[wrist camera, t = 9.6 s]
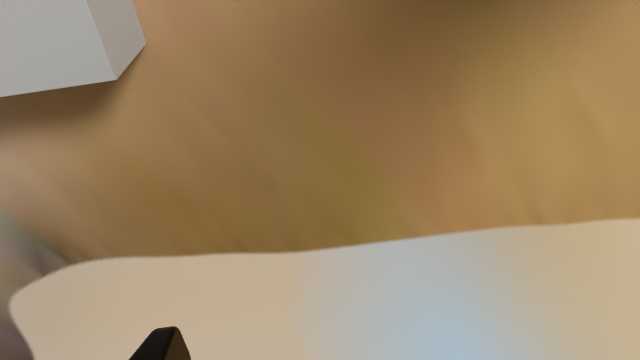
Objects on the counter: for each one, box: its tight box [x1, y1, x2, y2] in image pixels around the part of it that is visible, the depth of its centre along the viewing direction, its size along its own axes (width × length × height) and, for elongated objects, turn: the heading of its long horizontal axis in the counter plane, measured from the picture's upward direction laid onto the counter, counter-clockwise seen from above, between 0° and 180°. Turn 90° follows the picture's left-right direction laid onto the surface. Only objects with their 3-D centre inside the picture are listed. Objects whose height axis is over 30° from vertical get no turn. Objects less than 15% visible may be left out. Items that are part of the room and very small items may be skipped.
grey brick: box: [0, 0, 146, 97], centre depth 16 cm, size 6×4×4 cm, turn 98°
